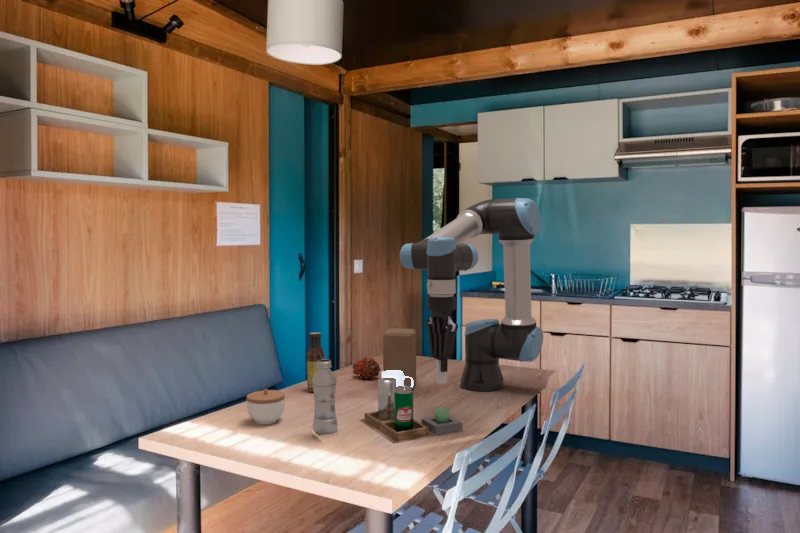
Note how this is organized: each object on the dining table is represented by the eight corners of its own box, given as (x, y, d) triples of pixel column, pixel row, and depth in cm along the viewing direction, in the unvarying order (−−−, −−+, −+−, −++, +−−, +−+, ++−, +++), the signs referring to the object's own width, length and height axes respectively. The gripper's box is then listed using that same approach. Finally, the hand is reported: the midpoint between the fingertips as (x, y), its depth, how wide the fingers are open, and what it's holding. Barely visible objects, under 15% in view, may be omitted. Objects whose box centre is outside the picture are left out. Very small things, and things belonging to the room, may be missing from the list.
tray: (396, 417, 179) (396, 406, 179) (434, 440, 160) (434, 428, 159) (358, 423, 174) (358, 412, 173) (393, 448, 154) (393, 435, 154)
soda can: (396, 436, 159) (396, 390, 159) (392, 430, 164) (392, 385, 163) (415, 434, 160) (415, 389, 160) (411, 428, 165) (410, 384, 165)
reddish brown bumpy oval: (379, 385, 223) (354, 385, 230) (389, 368, 228) (364, 368, 235) (368, 369, 219) (343, 369, 226) (378, 352, 224) (353, 353, 231)
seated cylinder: (391, 418, 174) (390, 376, 174) (399, 423, 170) (399, 380, 169) (375, 421, 172) (374, 378, 171) (383, 426, 168) (382, 382, 167)
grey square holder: (446, 426, 171) (446, 414, 170) (462, 435, 163) (462, 422, 163) (421, 431, 167) (421, 418, 167) (436, 440, 160) (436, 426, 160)
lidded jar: (291, 417, 180) (291, 386, 179) (272, 428, 170) (272, 395, 169) (260, 414, 184) (259, 383, 183) (239, 425, 173) (238, 392, 173)
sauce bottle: (327, 392, 208) (327, 333, 207) (309, 394, 206) (308, 335, 205) (323, 387, 214) (322, 331, 213) (305, 389, 212) (304, 332, 211)
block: (411, 391, 207) (411, 333, 206) (382, 390, 209) (382, 332, 208) (416, 384, 217) (416, 328, 216) (389, 383, 219) (388, 327, 218)
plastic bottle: (327, 440, 160) (326, 364, 159) (307, 435, 164) (306, 361, 163) (342, 433, 166) (341, 359, 165) (323, 429, 169) (322, 357, 168)
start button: (444, 418, 168) (444, 406, 167) (451, 422, 164) (451, 410, 164) (432, 420, 166) (432, 408, 166) (439, 424, 162) (439, 412, 162)
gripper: (417, 293, 167) (417, 379, 168) (441, 298, 155) (442, 390, 157) (440, 292, 170) (441, 376, 172) (466, 296, 159) (466, 386, 160)
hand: (441, 382), depth 164 cm, fingers closed
